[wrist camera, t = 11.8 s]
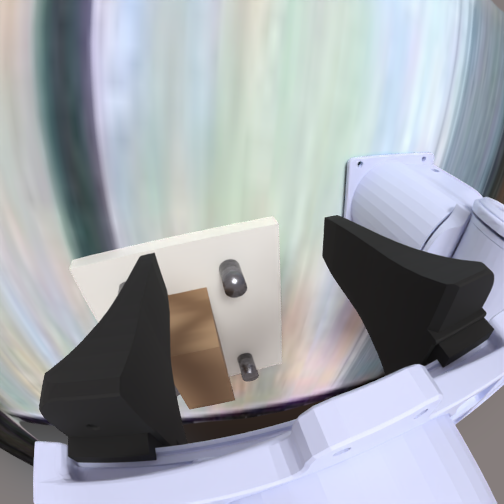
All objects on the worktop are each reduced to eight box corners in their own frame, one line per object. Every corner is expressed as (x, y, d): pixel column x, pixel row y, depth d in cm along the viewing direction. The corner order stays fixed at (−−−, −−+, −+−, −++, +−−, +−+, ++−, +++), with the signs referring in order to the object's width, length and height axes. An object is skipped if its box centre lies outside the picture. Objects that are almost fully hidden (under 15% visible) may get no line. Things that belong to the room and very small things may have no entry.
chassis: (273, 216, 23) (290, 241, 20) (278, 355, 33) (289, 380, 30) (72, 259, 20) (61, 290, 18) (144, 383, 31) (145, 410, 28)
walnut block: (206, 287, 24) (219, 346, 19) (221, 347, 28) (235, 400, 24) (157, 297, 23) (160, 358, 18) (181, 355, 28) (189, 409, 23)
